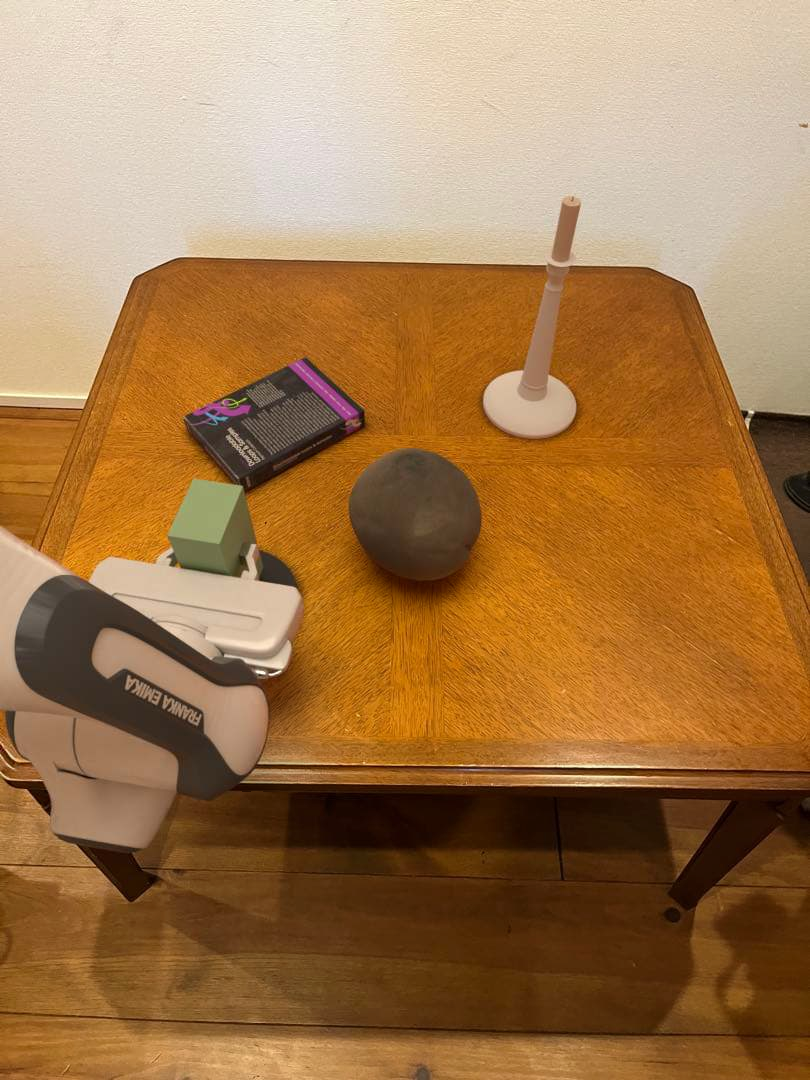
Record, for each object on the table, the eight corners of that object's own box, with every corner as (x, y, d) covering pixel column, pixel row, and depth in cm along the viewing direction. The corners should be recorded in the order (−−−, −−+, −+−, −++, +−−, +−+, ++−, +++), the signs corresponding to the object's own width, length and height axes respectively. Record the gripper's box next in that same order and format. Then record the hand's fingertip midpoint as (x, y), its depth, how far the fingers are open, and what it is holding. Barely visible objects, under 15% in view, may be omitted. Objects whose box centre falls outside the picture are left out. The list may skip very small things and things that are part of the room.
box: (308, 374, 106) (186, 432, 98) (306, 354, 103) (180, 412, 95) (366, 429, 99) (240, 495, 92) (366, 409, 96) (235, 476, 89)
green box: (199, 613, 78) (166, 535, 67) (220, 559, 82) (193, 477, 71) (244, 620, 78) (219, 544, 66) (263, 566, 82) (243, 485, 70)
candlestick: (470, 382, 105) (495, 173, 80) (554, 367, 107) (603, 159, 82) (501, 446, 97) (538, 238, 73) (590, 429, 99) (655, 221, 75)
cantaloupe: (447, 497, 92) (455, 409, 80) (493, 587, 84) (510, 506, 72) (339, 526, 89) (331, 440, 77) (376, 623, 81) (373, 544, 69)
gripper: (278, 668, 63) (318, 539, 71) (52, 628, 65) (116, 507, 73) (287, 698, 68) (323, 575, 76) (77, 661, 70) (134, 544, 78)
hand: (220, 541), depth 74 cm, fingers closed on green box, 5 cm apart
